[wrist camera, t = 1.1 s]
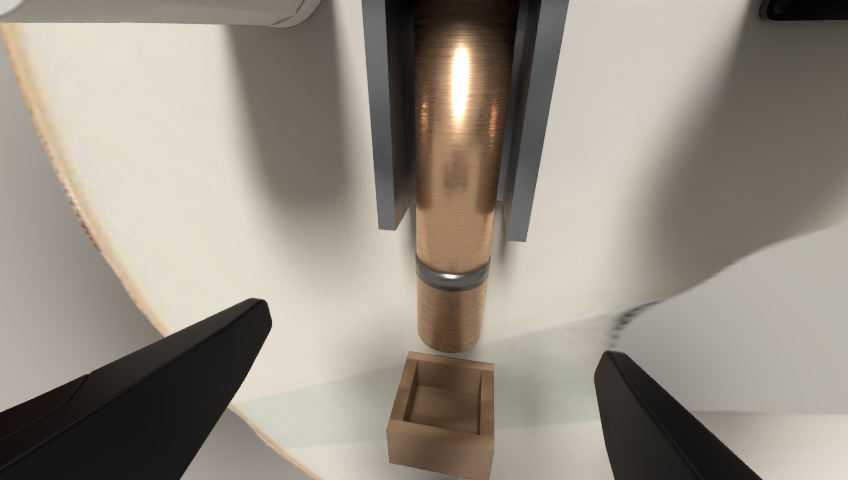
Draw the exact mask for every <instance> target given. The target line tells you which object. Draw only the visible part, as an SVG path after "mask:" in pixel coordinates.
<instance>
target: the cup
mask: <svg viewBox="0 0 848 480" xmlns="http://www.w3.org/2000/svg"><path fill="white" fill-rule="evenodd" d="M320 2H321V0H0V23H122V22H129V23H178V24H226V25H262V26H269V27H275V28H287V27H292V26H295V25H297V24H299V23H301V22H303V21H304V20H306V19H307V18H308V17H309V16H310V15H311V14H312V13H313V12H314V11H315V10H316V8H317V7H318V5H319V3H320Z"/></svg>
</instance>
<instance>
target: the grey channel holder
mask: <svg viewBox="0 0 848 480" xmlns="http://www.w3.org/2000/svg"><path fill="white" fill-rule="evenodd" d="M568 3H569V0H520V7H519V15H518V23H517V32H516V40H515V48H514V57H513V65H512V73H511V82H510V90H509V99H508V107H507V115H506V124H505V132H504V140H503V149H502V157H501V165H500V174H499V182H498V191H497V199H496V201H503V204H504V216H505V227H506V238H507V240H508V241H520V242H526V237H527V232H528V226H529V221H530V215H531V210H532V204H533V198H534V193H535V187H536V182H537V176H538V170H539V165H540V159H541V154H542V148H543V143H544V137H545V131H546V126H547V120H548V115H549V109H550V104H551V98H552V92H553V87H554V81H555V76H556V70H557V65H558V59H559V53H560V48H561V42H562V37H563V31H564V26H565V20H566V14H567V9H568ZM362 13H363V26H364V39H365V52H366V66H367V79H368V92H369V106H370V119H371V132H372V146H373V159H374V172H375V186H376V199H377V212H378V225H379V229H382V230H394V231H396V229H397V227H398V225H399V224H400V222H401V220H402V218H403V217H404V215H405V213H406V211H407V210H408V208H409V206H410V204H411V202H412V201H413V199H414V197H415V195H416V147H415V56H414V0H362Z"/></svg>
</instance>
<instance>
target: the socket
mask: <svg viewBox="0 0 848 480" xmlns="http://www.w3.org/2000/svg"><path fill="white" fill-rule="evenodd" d="M386 431H387V442H388V452H389V463H394V464H398V465H403V466H408V467H413V468H418V469H423V470H428V471H433V472H438V473H442V474H447V475H452V476H457V477H462V478H467V479H472V480H489V474H490V469H491V464H492V459H493V454H494V371H493V364H490V363H484V362H477V361H470V360H463V359H456V358H450V357H443V356H436V355H429V354H422V353H416V352H409V353H408V356H407V360H406V363H405V367H404V370H403V374H402V377H401V381H400V384H399V388H398V391H397V395H396V398H395V402H394V405H393V409H392V412H391V416H390V419H389V423H388V427H387V430H386Z"/></svg>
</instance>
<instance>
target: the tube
mask: <svg viewBox="0 0 848 480" xmlns="http://www.w3.org/2000/svg"><path fill="white" fill-rule="evenodd" d="M519 7H520V0H414V56H415V147H416V239H417V251H416V273H417V330H418V334H419V336H420V338H421V339H422V341H423V342H424V343H425V344H426V345H428V346H429V347H431V348H433V349H435V350H438V351H441V352H448V353H455V352H461V351H464V350H467V349H469V348H471V347H472V346H473V345H474V344H476V342H477V341H478V339H479V337H480V333H481V324H482V316H483V308H484V299H485V291H486V283H487V278H488V273H489V265H490V249H491V241H492V232H493V224H494V216H495V207H496V199H497V191H498V182H499V174H500V165H501V157H502V149H503V140H504V132H505V124H506V115H507V107H508V99H509V90H510V82H511V73H512V65H513V57H514V48H515V40H516V32H517V23H518V15H519Z"/></svg>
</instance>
